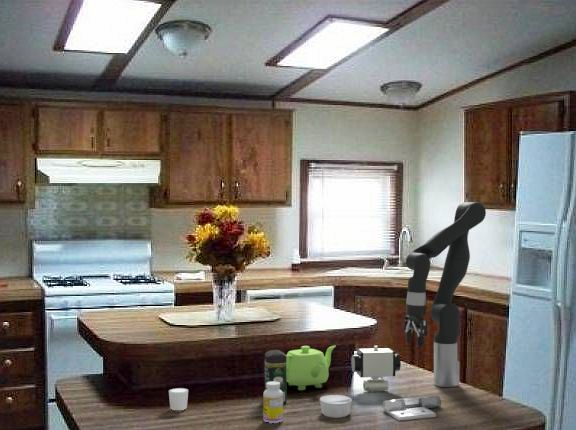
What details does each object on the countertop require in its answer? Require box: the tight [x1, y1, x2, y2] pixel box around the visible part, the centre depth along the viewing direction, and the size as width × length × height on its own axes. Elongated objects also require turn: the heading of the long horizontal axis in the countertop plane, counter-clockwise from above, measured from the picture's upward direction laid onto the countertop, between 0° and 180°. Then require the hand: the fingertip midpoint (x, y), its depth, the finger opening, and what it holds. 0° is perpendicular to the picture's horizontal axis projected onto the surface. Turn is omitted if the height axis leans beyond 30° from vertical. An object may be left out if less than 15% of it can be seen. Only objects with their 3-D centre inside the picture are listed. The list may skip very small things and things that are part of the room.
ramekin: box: [319, 394, 353, 419], centre depth 245 cm, size 11×11×5 cm
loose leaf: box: [382, 398, 437, 422], centre depth 245 cm, size 14×12×4 cm
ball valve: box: [351, 345, 402, 393], centre depth 275 cm, size 18×8×18 cm, turn 97°
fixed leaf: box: [391, 395, 442, 409], centre depth 255 cm, size 15×12×4 cm
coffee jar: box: [264, 349, 288, 404], centre depth 261 cm, size 10×8×19 cm
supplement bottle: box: [262, 381, 284, 424], centre depth 237 cm, size 7×7×13 cm
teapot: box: [285, 345, 337, 391], centre depth 282 cm, size 25×22×16 cm
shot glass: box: [168, 387, 189, 410], centre depth 250 cm, size 7×7×7 cm
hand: (414, 344), depth 279 cm, fingers open, 8 cm apart
